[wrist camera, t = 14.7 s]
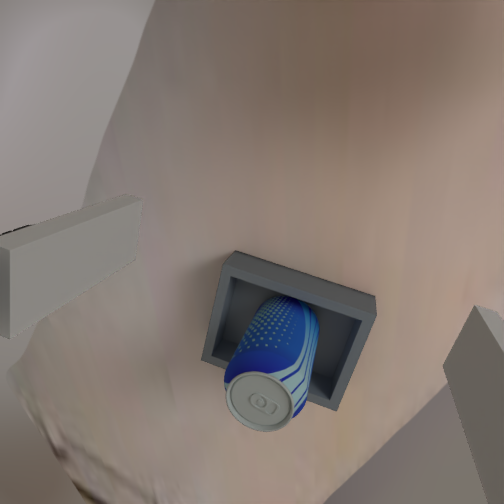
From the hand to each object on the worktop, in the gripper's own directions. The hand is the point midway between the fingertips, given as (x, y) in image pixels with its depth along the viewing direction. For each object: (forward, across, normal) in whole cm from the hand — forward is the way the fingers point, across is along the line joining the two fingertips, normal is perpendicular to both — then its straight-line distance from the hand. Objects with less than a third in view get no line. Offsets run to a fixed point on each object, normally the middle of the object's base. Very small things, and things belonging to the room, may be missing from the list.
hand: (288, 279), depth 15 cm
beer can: (+31, 0, -20) cm, 37 cm away
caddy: (+32, 0, -20) cm, 37 cm away
